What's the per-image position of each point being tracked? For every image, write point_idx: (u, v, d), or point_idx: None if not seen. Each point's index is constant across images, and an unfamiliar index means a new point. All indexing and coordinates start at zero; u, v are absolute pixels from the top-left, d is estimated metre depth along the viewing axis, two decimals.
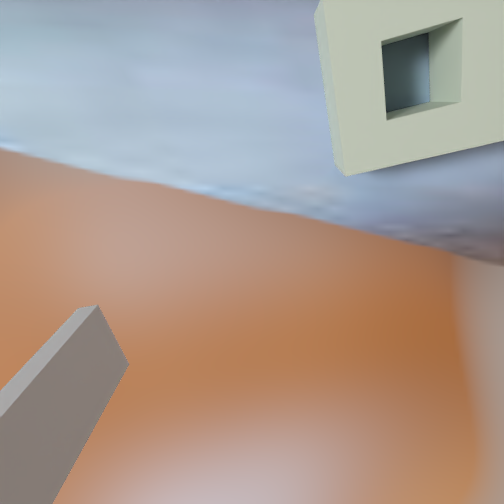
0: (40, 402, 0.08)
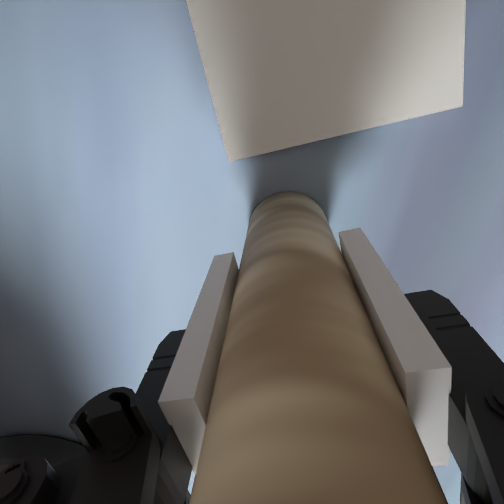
0: (224, 320, 0.09)
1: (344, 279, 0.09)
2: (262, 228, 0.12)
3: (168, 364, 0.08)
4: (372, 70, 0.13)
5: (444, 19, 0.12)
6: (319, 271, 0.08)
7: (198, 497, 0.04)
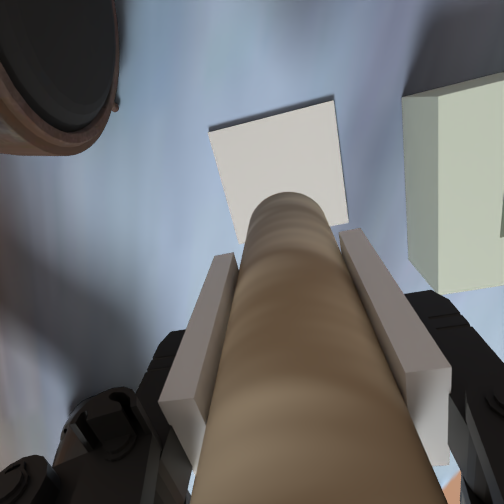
0: (224, 320, 0.09)
1: (344, 279, 0.09)
2: (262, 227, 0.12)
3: (168, 364, 0.08)
4: None
5: (335, 189, 0.27)
6: (319, 271, 0.08)
7: (199, 494, 0.05)
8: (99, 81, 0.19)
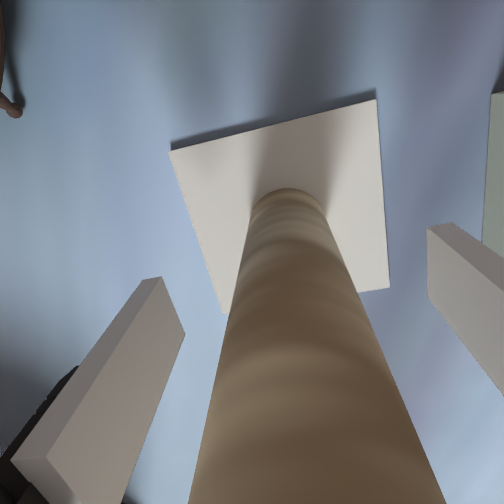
0: (129, 356, 0.09)
1: (338, 266, 0.10)
2: (263, 221, 0.13)
3: None
4: None
5: (372, 239, 0.17)
6: (315, 258, 0.09)
7: (207, 441, 0.05)
8: None
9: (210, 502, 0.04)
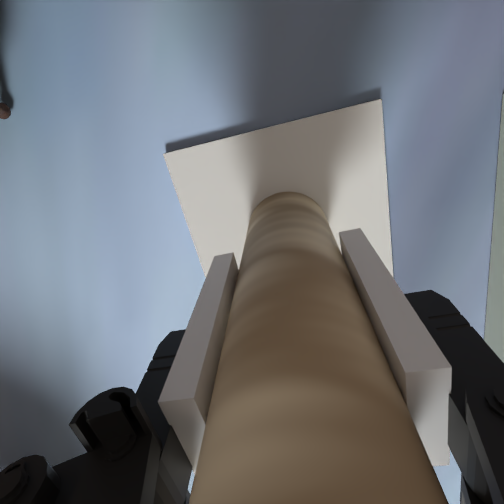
0: (224, 321, 0.09)
1: (344, 279, 0.09)
2: (262, 227, 0.12)
3: (168, 364, 0.08)
4: None
5: (376, 245, 0.16)
6: (319, 271, 0.08)
7: (198, 495, 0.04)
8: None
9: None
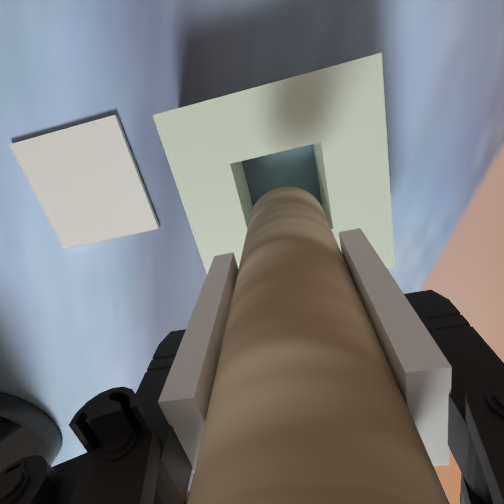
0: (224, 320, 0.09)
1: (338, 263, 0.10)
2: (263, 218, 0.13)
3: (168, 364, 0.08)
4: (116, 214, 0.29)
5: (138, 197, 0.29)
6: (315, 255, 0.09)
7: (209, 434, 0.05)
8: None
9: (212, 492, 0.04)
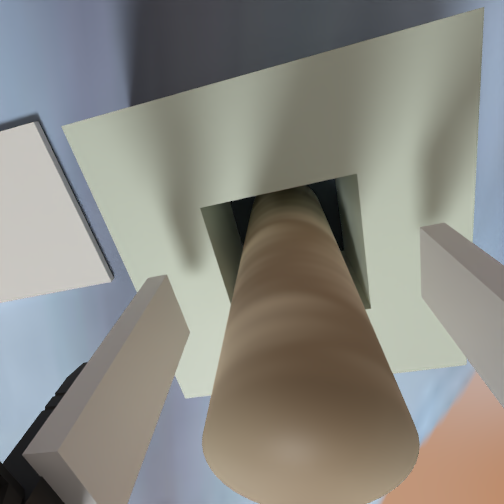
0: (136, 352, 0.09)
1: (330, 241, 0.11)
2: (264, 206, 0.14)
3: None
4: (49, 262, 0.21)
5: (79, 240, 0.20)
6: (310, 234, 0.11)
7: (223, 361, 0.07)
8: None
9: (229, 390, 0.06)
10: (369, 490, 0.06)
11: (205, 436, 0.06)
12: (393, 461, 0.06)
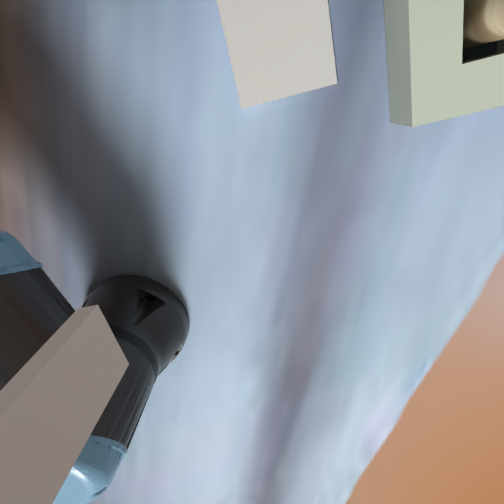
0: (40, 402, 0.08)
1: None
2: None
3: None
4: (299, 68, 0.32)
5: (325, 49, 0.31)
6: None
7: None
8: None
9: None
10: None
11: None
12: None
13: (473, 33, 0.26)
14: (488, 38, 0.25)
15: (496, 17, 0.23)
